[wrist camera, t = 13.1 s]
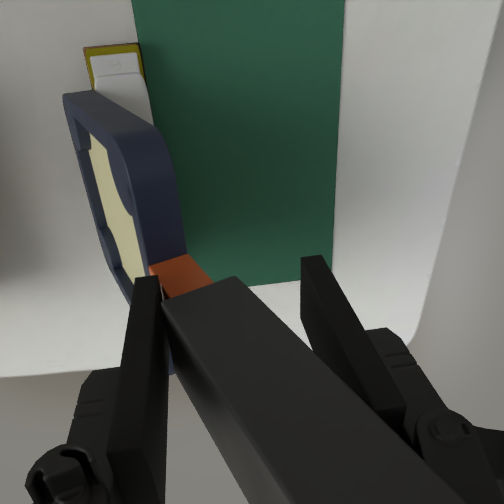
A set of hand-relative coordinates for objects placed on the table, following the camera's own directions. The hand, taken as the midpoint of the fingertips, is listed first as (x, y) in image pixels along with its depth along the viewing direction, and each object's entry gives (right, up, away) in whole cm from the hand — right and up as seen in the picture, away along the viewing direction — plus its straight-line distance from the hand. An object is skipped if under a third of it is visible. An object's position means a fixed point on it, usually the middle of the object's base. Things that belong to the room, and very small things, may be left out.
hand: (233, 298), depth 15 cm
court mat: (+1, +8, +13) cm, 16 cm away
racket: (-9, +6, +11) cm, 15 cm away
